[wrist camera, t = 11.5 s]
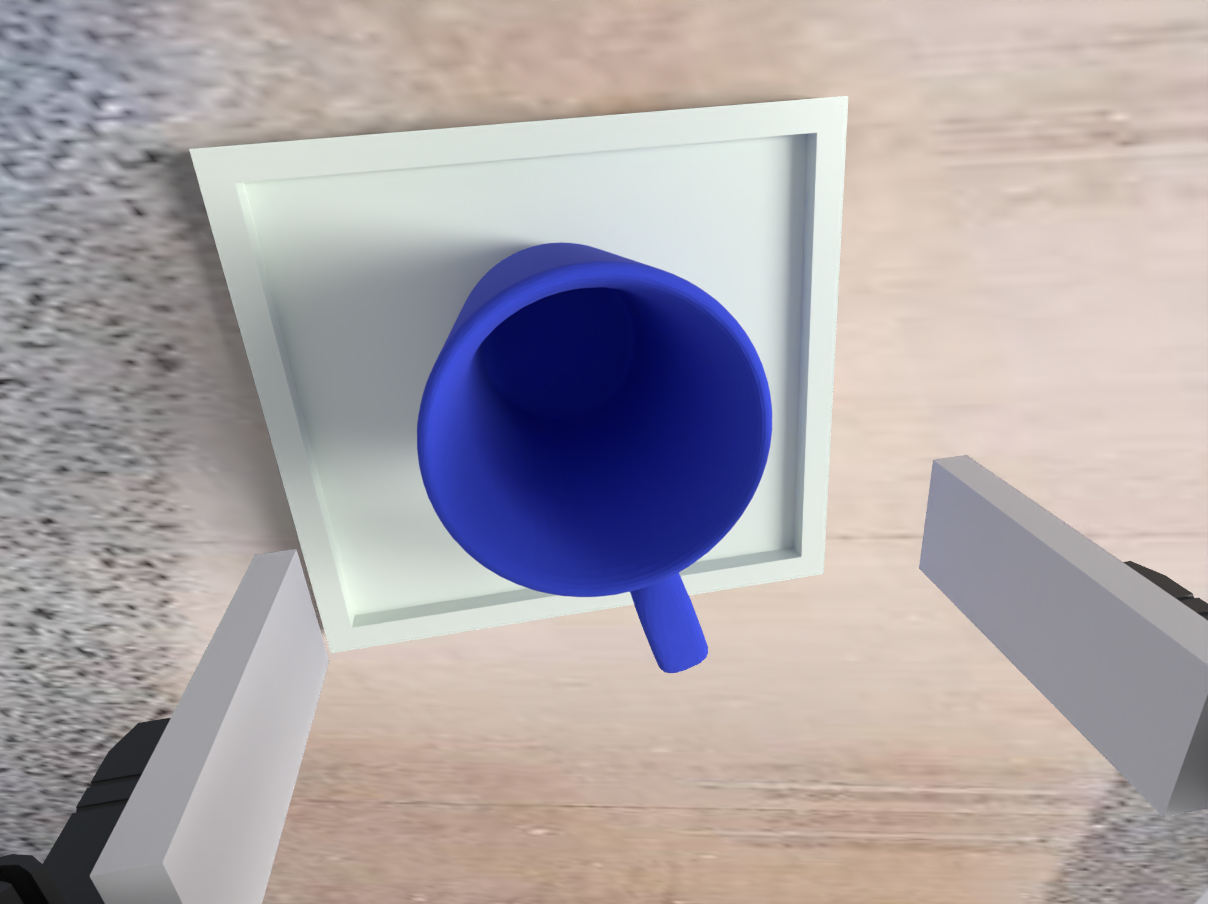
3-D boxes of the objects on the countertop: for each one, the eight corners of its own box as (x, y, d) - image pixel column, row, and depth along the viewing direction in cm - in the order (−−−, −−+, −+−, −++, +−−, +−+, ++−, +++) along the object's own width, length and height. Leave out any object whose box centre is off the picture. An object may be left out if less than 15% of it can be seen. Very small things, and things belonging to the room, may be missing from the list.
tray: (207, 148, 22) (188, 149, 21) (826, 98, 25) (848, 95, 23) (337, 628, 30) (330, 653, 28) (807, 554, 32) (823, 573, 31)
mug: (532, 560, 29) (558, 751, 20) (395, 270, 24) (347, 349, 15) (725, 484, 29) (839, 640, 20) (629, 179, 24) (723, 202, 15)
